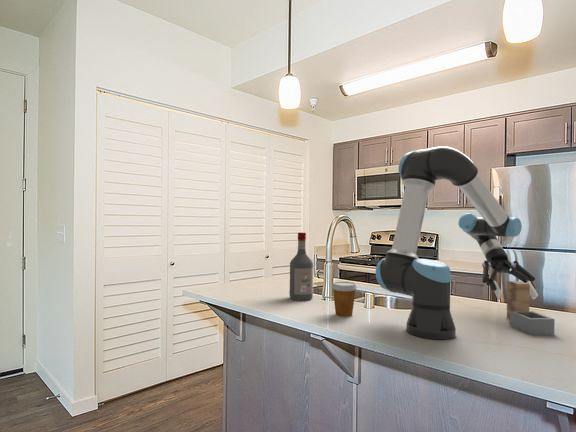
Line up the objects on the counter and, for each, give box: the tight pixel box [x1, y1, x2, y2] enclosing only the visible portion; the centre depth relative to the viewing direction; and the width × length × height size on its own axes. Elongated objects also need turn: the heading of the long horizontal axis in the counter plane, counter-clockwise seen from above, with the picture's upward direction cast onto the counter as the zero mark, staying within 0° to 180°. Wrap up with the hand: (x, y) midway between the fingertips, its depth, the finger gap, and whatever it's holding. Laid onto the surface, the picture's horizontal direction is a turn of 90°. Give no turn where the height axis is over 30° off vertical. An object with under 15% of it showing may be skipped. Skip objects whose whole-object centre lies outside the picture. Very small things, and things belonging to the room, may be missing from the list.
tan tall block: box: [506, 280, 531, 320], centre depth 140 cm, size 6×4×14 cm
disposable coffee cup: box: [331, 281, 358, 318], centre depth 144 cm, size 10×10×12 cm
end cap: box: [509, 310, 555, 336], centre depth 128 cm, size 10×8×5 cm
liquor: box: [289, 232, 314, 302], centre depth 171 cm, size 9×9×30 cm
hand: (518, 297), depth 141 cm, fingers open, 13 cm apart
